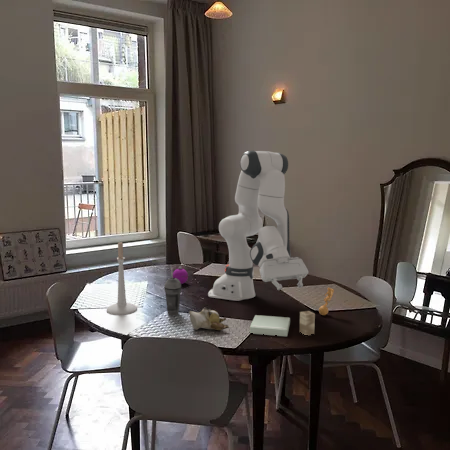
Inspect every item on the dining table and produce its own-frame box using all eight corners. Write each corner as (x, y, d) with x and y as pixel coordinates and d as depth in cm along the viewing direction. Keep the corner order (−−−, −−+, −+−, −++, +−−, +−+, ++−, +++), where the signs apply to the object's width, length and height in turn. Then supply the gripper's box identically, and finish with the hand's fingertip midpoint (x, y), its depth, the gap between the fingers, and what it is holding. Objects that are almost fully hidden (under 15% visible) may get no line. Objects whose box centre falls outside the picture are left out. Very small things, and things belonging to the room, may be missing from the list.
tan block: (305, 335, 180) (305, 315, 179) (299, 332, 184) (300, 312, 183) (314, 334, 182) (314, 313, 181) (308, 330, 186) (309, 310, 184)
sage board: (249, 333, 182) (249, 326, 182) (255, 321, 196) (255, 314, 196) (287, 336, 180) (287, 329, 179) (289, 323, 193) (290, 317, 193)
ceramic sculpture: (189, 302, 190) (226, 304, 192) (187, 323, 192) (225, 324, 194) (190, 311, 180) (230, 313, 182) (188, 333, 181) (228, 335, 183)
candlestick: (118, 317, 200) (116, 245, 195) (100, 310, 208) (98, 241, 204) (143, 309, 209) (141, 241, 205) (125, 303, 217) (123, 237, 213)
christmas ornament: (183, 286, 245) (183, 267, 244) (169, 285, 248) (169, 266, 247) (190, 282, 253) (190, 264, 252) (176, 281, 256) (176, 262, 254)
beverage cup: (168, 317, 199) (167, 270, 196) (161, 312, 205) (161, 266, 202) (184, 315, 202) (184, 268, 199) (177, 310, 209) (177, 264, 206)
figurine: (316, 311, 208) (317, 284, 206) (330, 311, 208) (331, 284, 206) (320, 318, 200) (321, 290, 198) (335, 318, 200) (336, 290, 198)
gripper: (297, 260, 206) (309, 289, 198) (254, 265, 198) (265, 294, 190) (303, 252, 201) (316, 281, 194) (259, 256, 193) (271, 286, 186)
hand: (290, 287), depth 192 cm, fingers open, 8 cm apart
